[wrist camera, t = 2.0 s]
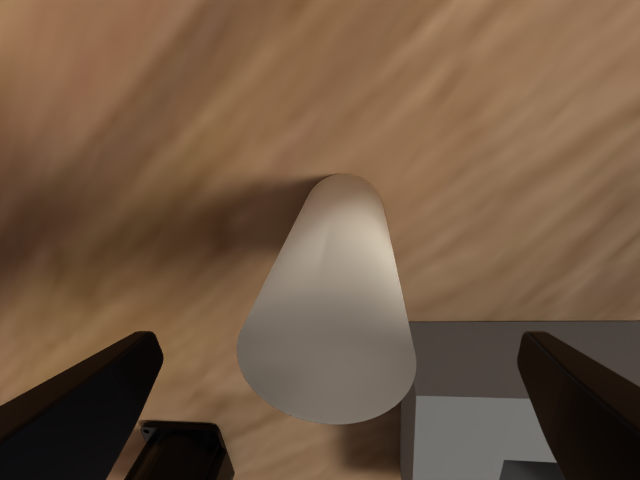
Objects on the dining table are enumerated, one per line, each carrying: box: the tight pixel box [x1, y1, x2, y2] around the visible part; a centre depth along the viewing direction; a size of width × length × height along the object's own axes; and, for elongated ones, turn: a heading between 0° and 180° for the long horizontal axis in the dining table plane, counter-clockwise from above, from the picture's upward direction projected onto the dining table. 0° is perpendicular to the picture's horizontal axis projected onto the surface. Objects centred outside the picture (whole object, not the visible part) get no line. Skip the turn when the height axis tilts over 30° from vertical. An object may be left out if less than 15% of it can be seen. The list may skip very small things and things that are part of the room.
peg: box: [237, 174, 416, 424], centre depth 11 cm, size 4×4×10 cm
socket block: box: [400, 321, 640, 480], centre depth 18 cm, size 14×14×5 cm
